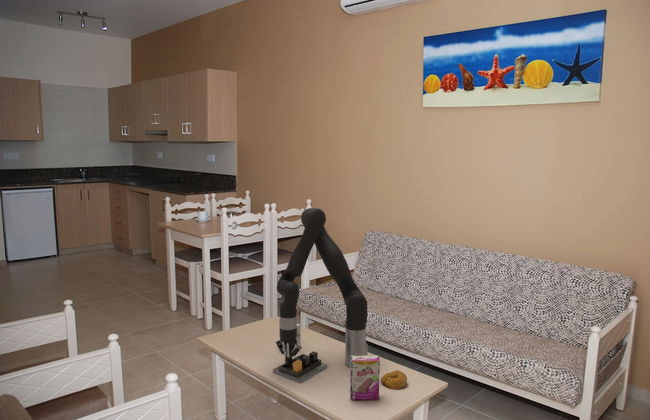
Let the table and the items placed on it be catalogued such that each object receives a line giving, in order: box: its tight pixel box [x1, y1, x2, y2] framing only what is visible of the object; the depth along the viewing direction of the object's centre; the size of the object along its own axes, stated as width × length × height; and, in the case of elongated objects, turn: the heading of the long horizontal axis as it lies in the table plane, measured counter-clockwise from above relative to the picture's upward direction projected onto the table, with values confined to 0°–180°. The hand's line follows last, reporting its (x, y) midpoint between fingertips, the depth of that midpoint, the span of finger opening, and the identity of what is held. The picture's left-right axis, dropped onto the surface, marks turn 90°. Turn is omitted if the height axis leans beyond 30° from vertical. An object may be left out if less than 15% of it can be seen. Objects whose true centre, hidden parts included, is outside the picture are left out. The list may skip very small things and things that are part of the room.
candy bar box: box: [349, 355, 381, 401], centre depth 192 cm, size 11×5×16 cm, turn 92°
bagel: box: [380, 370, 408, 390], centre depth 204 cm, size 10×11×5 cm
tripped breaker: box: [293, 360, 302, 372], centre depth 210 cm, size 2×3×5 cm
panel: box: [272, 351, 328, 384], centre depth 216 cm, size 16×18×7 cm
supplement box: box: [282, 323, 302, 350], centre depth 237 cm, size 7×7×13 cm
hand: (288, 364), depth 213 cm, fingers closed
